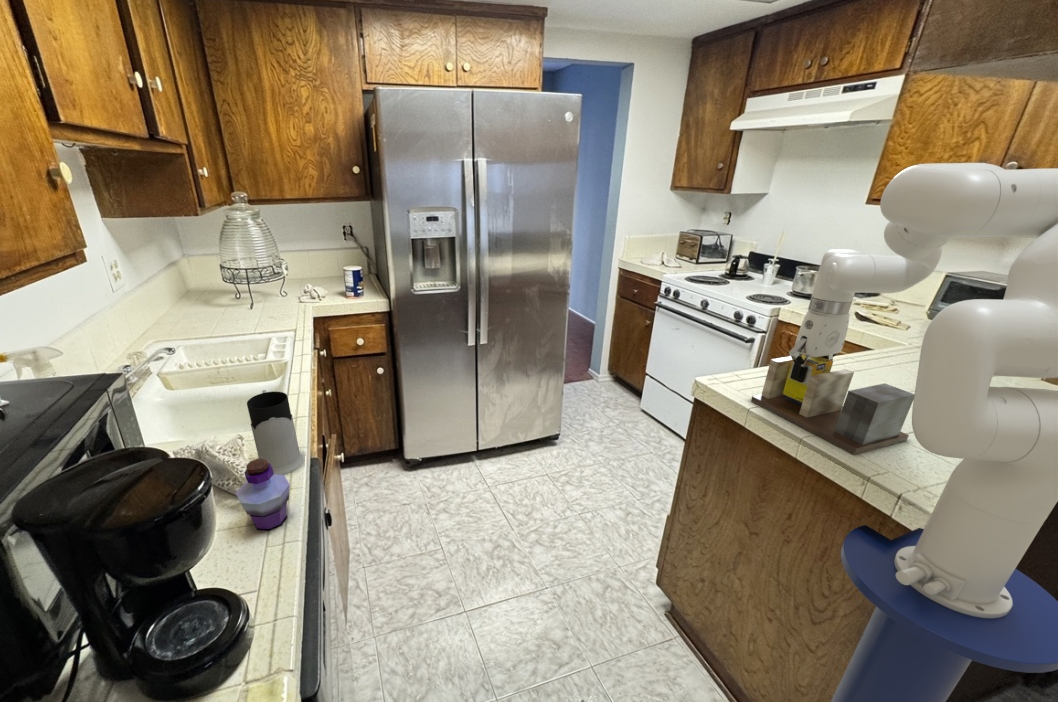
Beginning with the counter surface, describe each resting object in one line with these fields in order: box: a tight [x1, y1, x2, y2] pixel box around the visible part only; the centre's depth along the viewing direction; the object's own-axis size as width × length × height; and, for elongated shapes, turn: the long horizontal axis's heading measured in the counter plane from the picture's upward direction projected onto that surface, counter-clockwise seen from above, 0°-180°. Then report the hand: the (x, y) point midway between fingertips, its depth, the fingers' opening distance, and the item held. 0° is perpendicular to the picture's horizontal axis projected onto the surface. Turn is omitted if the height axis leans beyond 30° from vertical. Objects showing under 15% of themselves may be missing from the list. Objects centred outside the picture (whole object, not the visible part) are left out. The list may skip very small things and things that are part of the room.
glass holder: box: [246, 389, 304, 475], centre depth 97 cm, size 9×14×15 cm, turn 28°
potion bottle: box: [235, 458, 291, 532], centre depth 80 cm, size 9×9×12 cm
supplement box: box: [782, 355, 834, 405], centre depth 113 cm, size 6×6×11 cm
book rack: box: [750, 355, 915, 455], centre depth 109 cm, size 16×26×12 cm, turn 18°
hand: (807, 377), depth 113 cm, fingers closed on supplement box, 6 cm apart
